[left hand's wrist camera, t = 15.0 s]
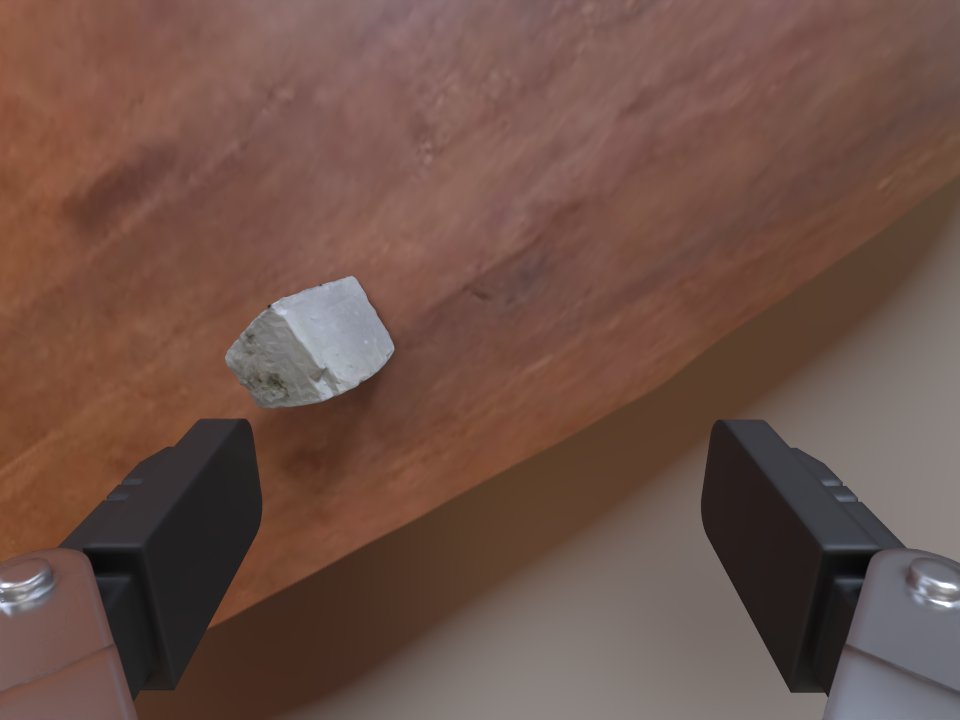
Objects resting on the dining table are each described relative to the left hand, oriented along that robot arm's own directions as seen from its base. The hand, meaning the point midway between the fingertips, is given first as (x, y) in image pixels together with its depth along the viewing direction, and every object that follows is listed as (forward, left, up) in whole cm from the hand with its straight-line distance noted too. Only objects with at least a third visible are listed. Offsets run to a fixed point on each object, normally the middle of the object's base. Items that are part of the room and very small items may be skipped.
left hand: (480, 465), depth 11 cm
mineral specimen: (-12, +2, -30) cm, 32 cm away
